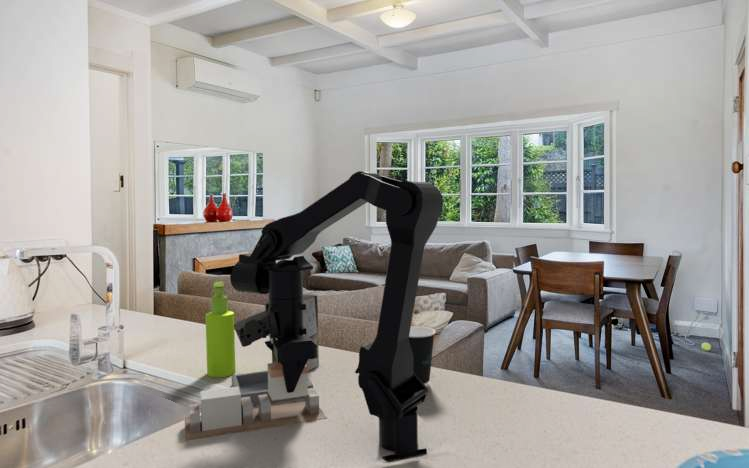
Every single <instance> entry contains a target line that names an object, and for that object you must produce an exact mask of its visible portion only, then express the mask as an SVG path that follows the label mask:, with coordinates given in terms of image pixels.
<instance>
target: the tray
mask: <svg viewBox="0 0 749 468" xmlns="http://www.w3.org/2000/svg"><path fill="white" fill-rule="evenodd" d="M231 387H239V390H240V393H241V398H243V397H250V399H251V402H252V405H253V406H254V405H258V395H265V394H267V396H268V398H269V400H270V402H271V403H273V402H274V403H275V402H281V401H288V400H296V399H302V398H303V399H304V398H305V396H301V397H294V398H287V399H280V400H273V401H272V400H271V397H270V395H269V393H268V370H263V371H256V372H254V371H253V372H247V373H239V374H233V375H231ZM310 388H314V384H313V383H312V382H311V380H310V379H309V378H308V389H310Z"/></svg>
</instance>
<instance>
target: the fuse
mask: <svg viewBox="0 0 749 468" xmlns="http://www.w3.org/2000/svg"><path fill="white" fill-rule="evenodd" d="M200 416H201V421H202V431H206V430H212V429H219V428H225V427H232V426H238V425H242V419H241V393H240V390H239V387H232V386H231V387H225V388H224V387H223V388H216V389H215V388H213V389H206V390H201V391H200Z"/></svg>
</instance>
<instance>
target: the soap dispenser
mask: <svg viewBox="0 0 749 468" xmlns="http://www.w3.org/2000/svg"><path fill="white" fill-rule="evenodd" d="M224 284H225V283H224V281H214V282H213V289H214V294H215V295H213V296H212V297H211V298H210V302H211V303H210V305H211V306H210V307H211V311H210V312H207V313H206V314H205V341H206V342H205V343H206V345H205V346H206V371H207V372H206V374H207V376H208V377H210V378H216V379H217V378H226V376H227V377H230V376H232V374H233V375H235V373H236V343H235V342H236V341H235V340H236V339H235V334H236V333H235V328H234V326H233V325H234V324H235V312H234V311H231V310H229V308H228V307H229V306H228V305H229V304H228V296H227V295H225V294H224Z"/></svg>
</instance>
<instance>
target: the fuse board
mask: <svg viewBox="0 0 749 468" xmlns="http://www.w3.org/2000/svg"><path fill="white" fill-rule="evenodd" d="M304 398H305V399H304V400H299V401H292V402H285V403H279V404H277V403H276V404H272V402H270V400H269V398H268V396H267V394H265V395H258V404H257V406H256V407H253V406H254V405H252V402H251V399H250V397H243V398H241V419H242V425H238V426H232V427H225V428H219V429H212V430H206V431H202V421H201V408H200V403H195V404H194V403H193V404H188V405H189V406H188V407H189V409H188V411H189V417H184V421H185V423H184V425H185V427H184V428H185V430H184V431H185V436H184V437H185V442H188V441H192V440H200V439H205V438H212V437H219V436H224V435H230V434H236V433H243V432H249V431H256V430H261V429H267V428H268V429H269V428H275V427H280V426H281V427H282V426H286V425H293V424H294V425H295V424H300V423H301V424H302V423H307V422H312V421H313V422H314V421H319V420H325V419H328V417H327V416H326V414H325V413H324V412H323V410H322V409H321V407H320V395H319V394H318V392H317V391H316V390H315V388H314V387H313V388H310V389H308V396H305V397H304Z"/></svg>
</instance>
